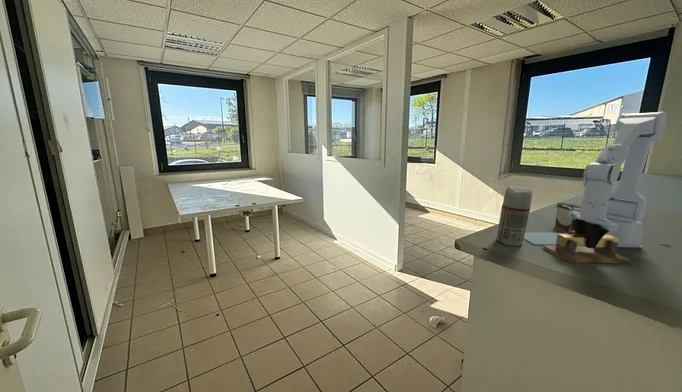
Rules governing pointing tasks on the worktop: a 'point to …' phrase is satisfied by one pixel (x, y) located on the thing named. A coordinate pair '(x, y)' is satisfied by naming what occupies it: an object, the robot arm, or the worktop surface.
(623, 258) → the hook stand
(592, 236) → the robot arm
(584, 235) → the brass rail
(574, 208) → the food container
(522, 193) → the spray can
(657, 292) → the worktop surface
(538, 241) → the rubber mat
